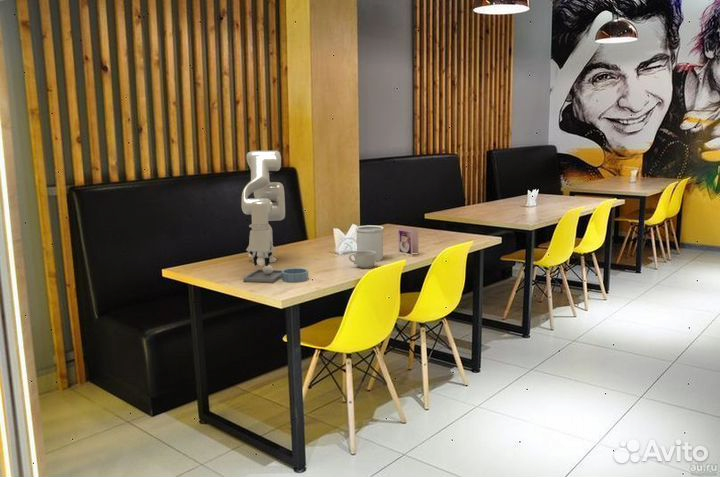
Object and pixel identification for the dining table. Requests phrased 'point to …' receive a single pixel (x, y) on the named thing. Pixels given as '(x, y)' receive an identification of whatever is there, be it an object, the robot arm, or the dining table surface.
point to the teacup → (364, 258)
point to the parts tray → (263, 276)
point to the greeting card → (408, 240)
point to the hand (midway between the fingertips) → (261, 264)
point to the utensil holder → (370, 239)
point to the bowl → (295, 275)
